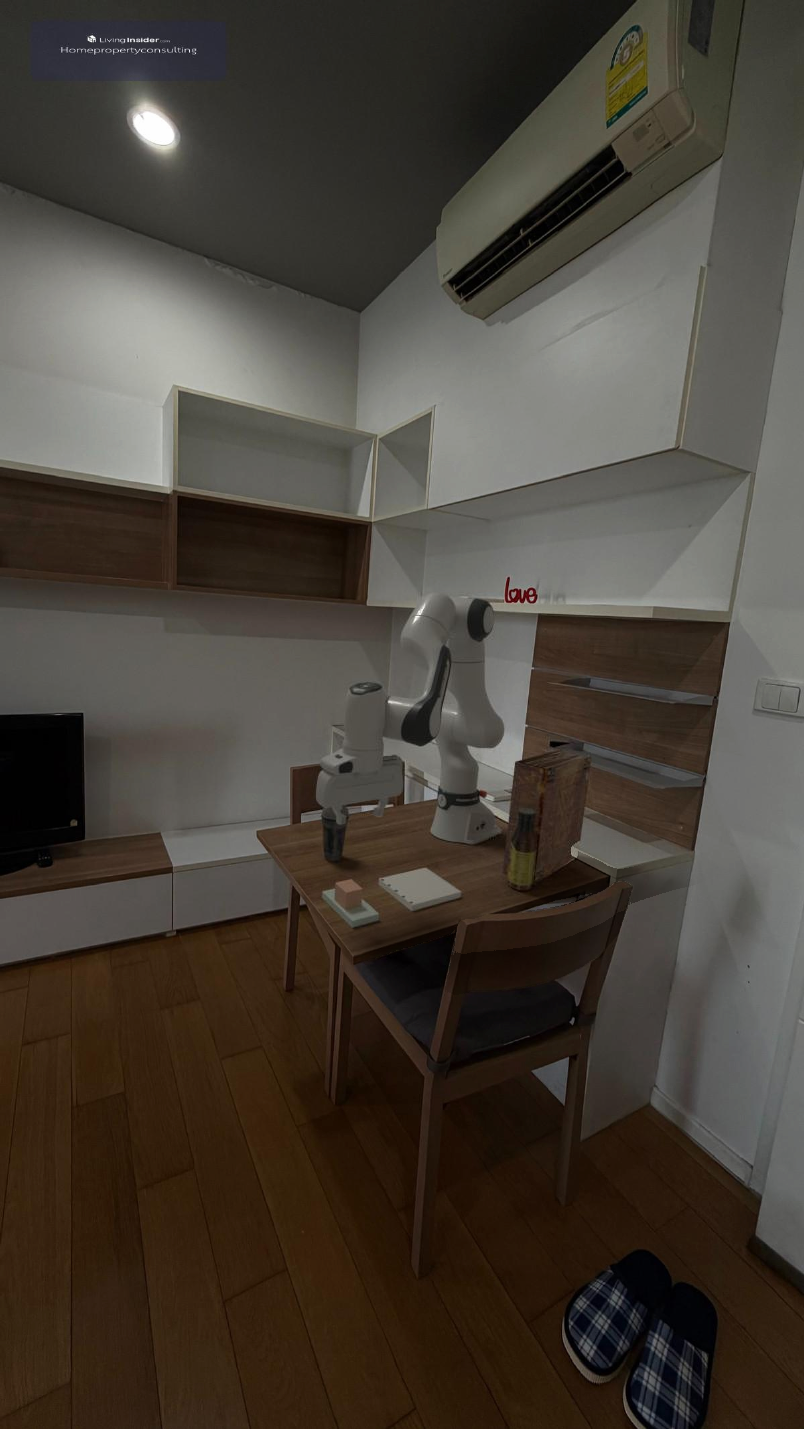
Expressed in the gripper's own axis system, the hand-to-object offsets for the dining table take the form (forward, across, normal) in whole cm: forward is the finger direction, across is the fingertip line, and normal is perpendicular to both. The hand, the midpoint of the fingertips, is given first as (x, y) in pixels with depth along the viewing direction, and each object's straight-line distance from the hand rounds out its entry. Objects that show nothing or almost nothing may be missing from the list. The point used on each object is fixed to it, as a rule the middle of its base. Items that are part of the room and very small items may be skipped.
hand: (359, 819), depth 126 cm
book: (+21, -55, +6) cm, 59 cm away
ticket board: (+20, -16, +3) cm, 25 cm away
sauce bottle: (+20, -40, +12) cm, 46 cm away
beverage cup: (+20, -6, -22) cm, 30 cm away
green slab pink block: (+19, +3, +2) cm, 20 cm away
